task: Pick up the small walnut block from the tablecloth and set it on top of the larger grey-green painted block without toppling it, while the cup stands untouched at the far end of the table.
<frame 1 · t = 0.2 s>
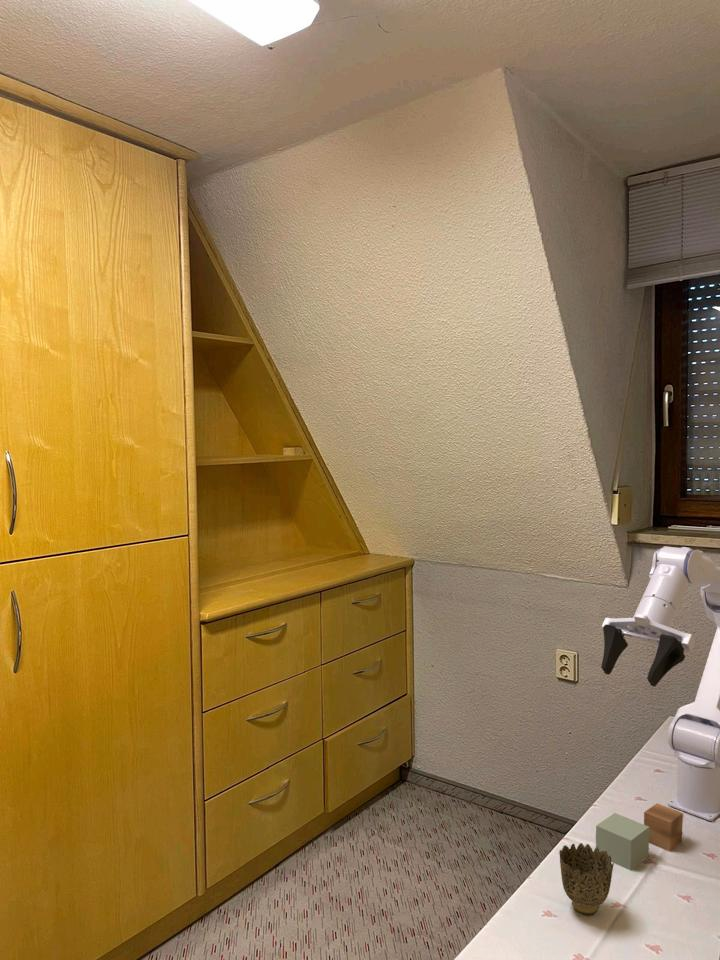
hand: (627, 676, 116), 31 cm above the table, tool tilted 45°, fingers open, 7 cm apart
cup: (585, 911, 107), on the table
walnut block: (662, 841, 125), on the table
grey block: (621, 855, 121), on the table
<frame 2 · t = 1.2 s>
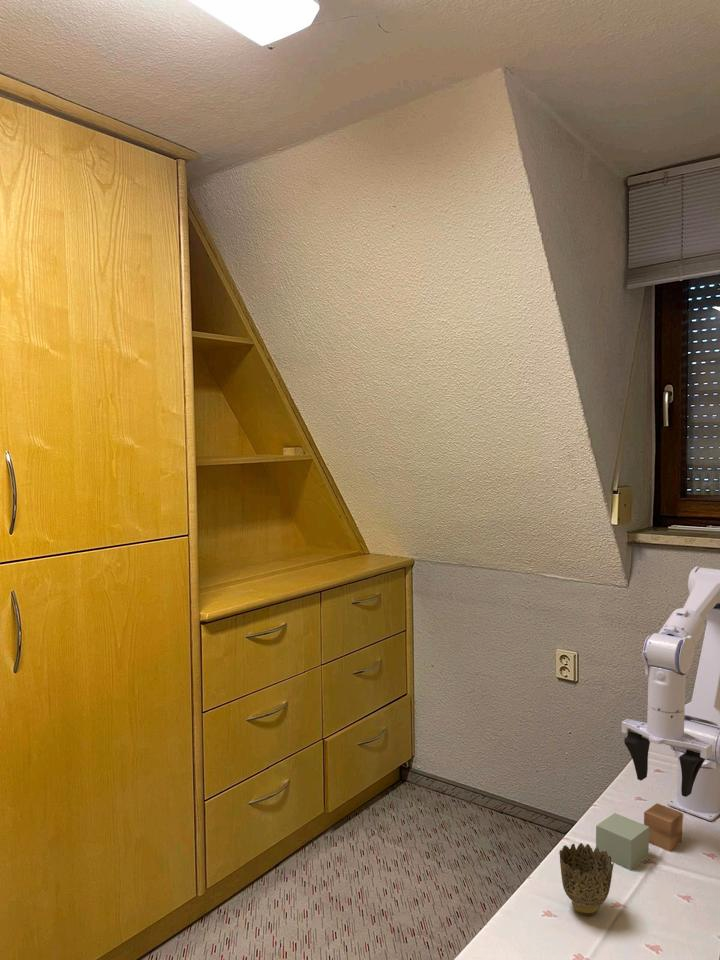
hand: (663, 786, 124), 9 cm above the table, tool pointing down, fingers open, 7 cm apart
nothing on the table moved.
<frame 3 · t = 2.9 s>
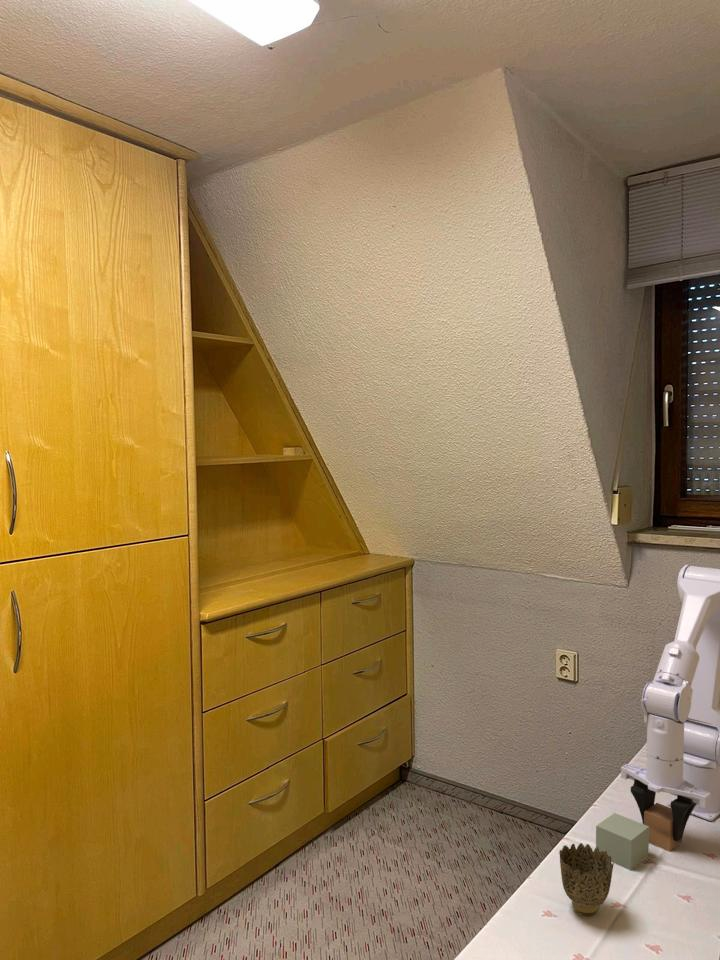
hand: (662, 832, 125), 1 cm above the table, tool pointing down, fingers closed on walnut block, 4 cm apart
walnut block: (662, 840, 125), on the table, touching gripper
everything else where it was.
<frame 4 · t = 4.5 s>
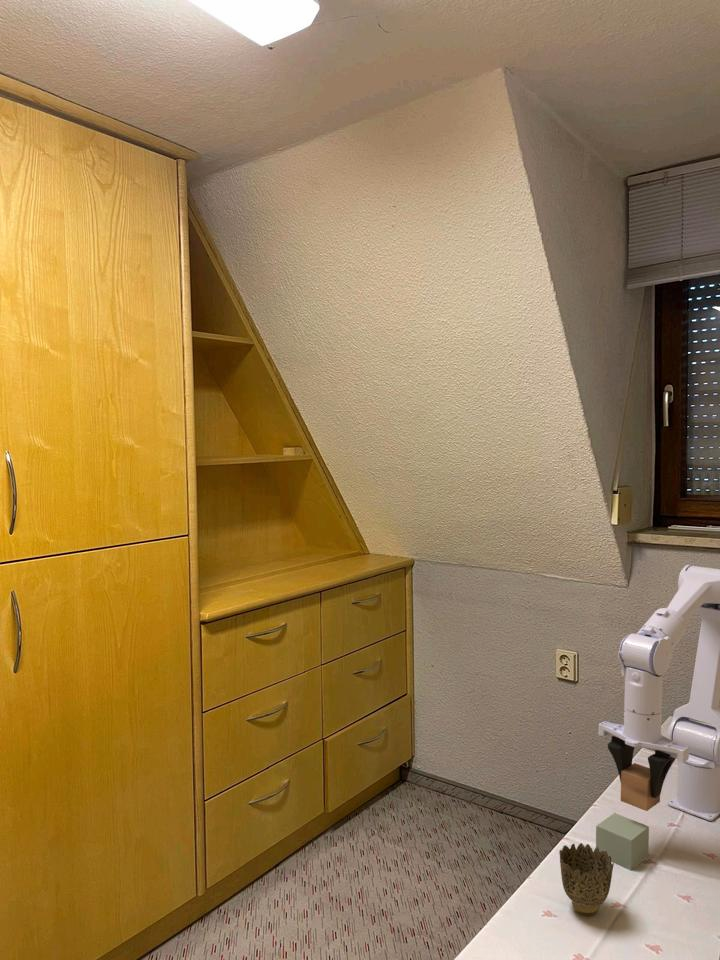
hand: (640, 790, 122), 10 cm above the table, tool pointing down, fingers closed on walnut block, 4 cm apart
walnut block: (640, 801, 122), point 8 cm above the table, touching gripper
everything else where it was.
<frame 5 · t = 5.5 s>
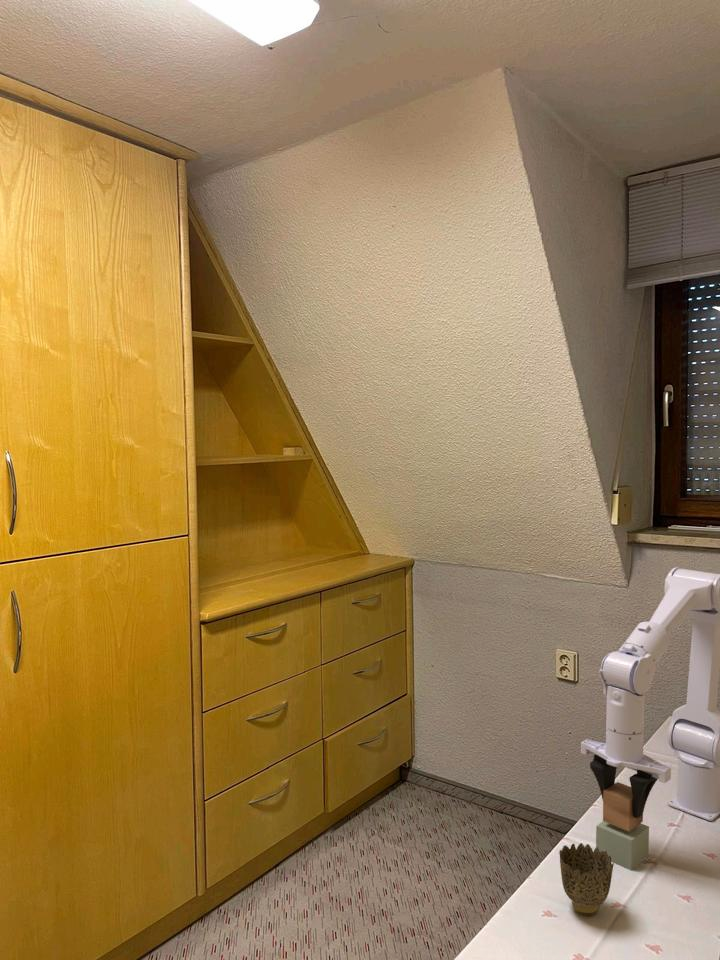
hand: (623, 809, 120), 8 cm above the table, tool pointing down, fingers closed on walnut block, 4 cm apart
walnut block: (622, 821, 120), point 6 cm above the table, touching gripper
everything else where it was.
when the fingers open (8 cm above the table, at t = 6.1 s): walnut block stays where it is, resting on grey block.
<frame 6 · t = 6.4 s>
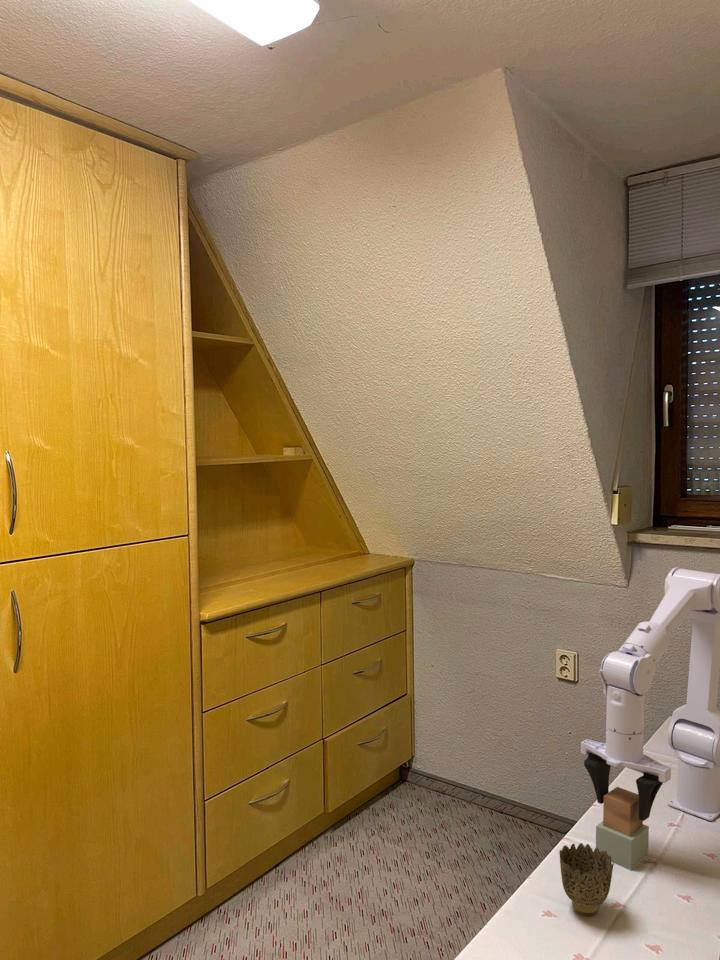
hand: (623, 809, 120), 8 cm above the table, tool pointing down, fingers open, 7 cm apart
walnut block: (622, 825, 120), point 5 cm above the table, touching grey block
grey block: (621, 855, 121), on the table, touching walnut block
everything else where it was.
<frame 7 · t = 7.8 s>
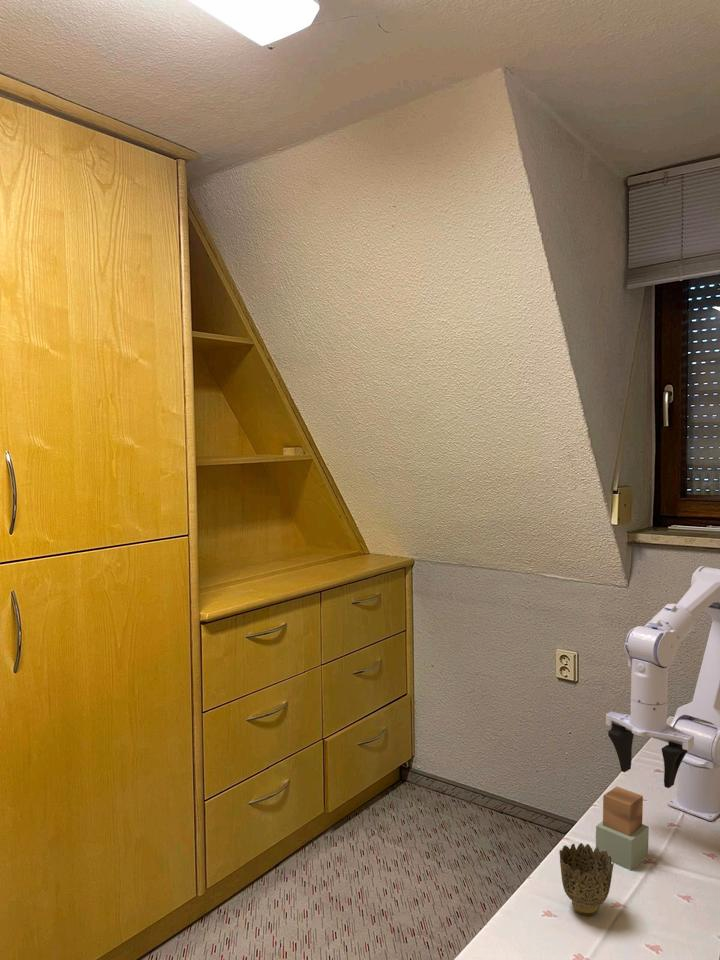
hand: (647, 777, 125), 10 cm above the table, tool pointing down, fingers open, 7 cm apart
walnut block: (622, 825, 121), point 5 cm above the table
grey block: (621, 855, 121), on the table
everything else where it was.
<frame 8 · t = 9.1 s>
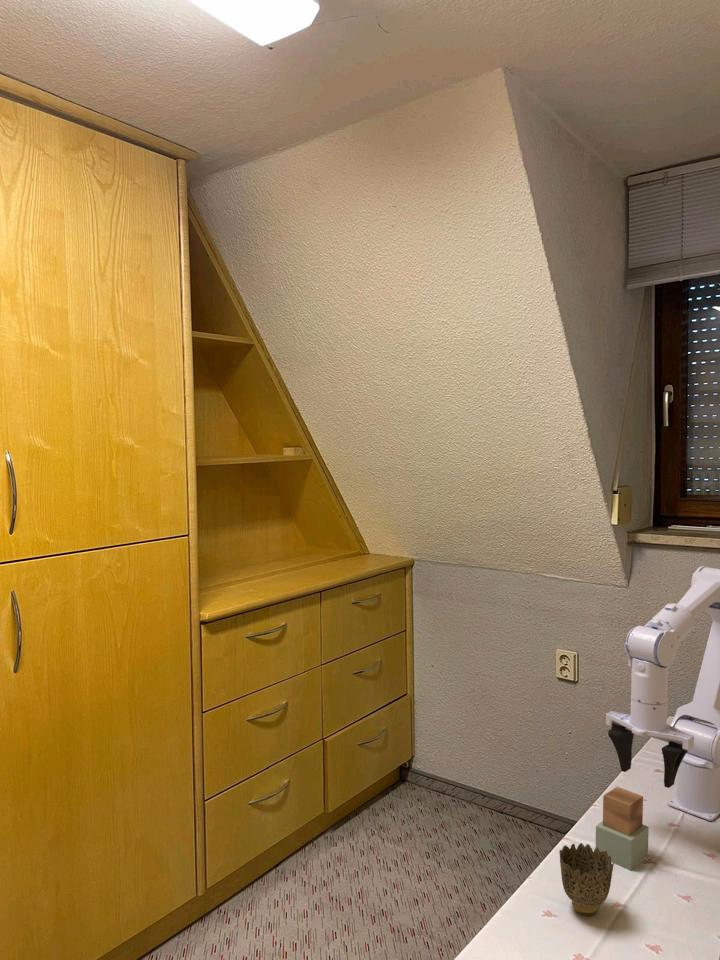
hand: (647, 777, 125), 10 cm above the table, tool pointing down, fingers open, 7 cm apart
nothing on the table moved.
at the end: walnut block 0.2 cm off-centre on the grey block, point 5.0 cm above the grey block's base; grey block tilted 0°; the gripper is holding nothing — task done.
